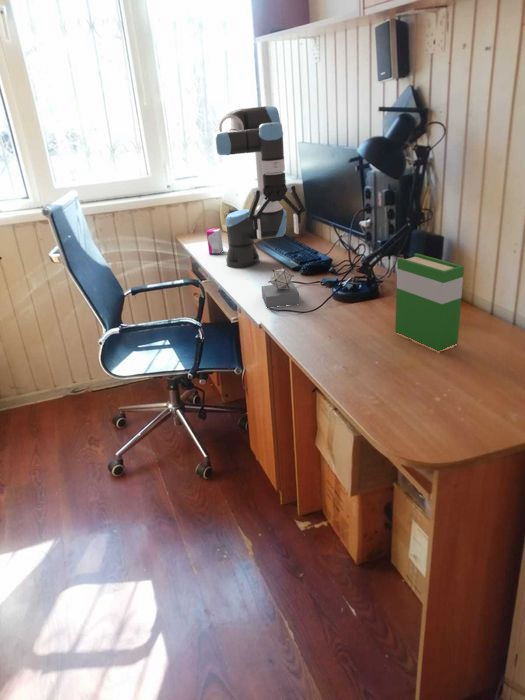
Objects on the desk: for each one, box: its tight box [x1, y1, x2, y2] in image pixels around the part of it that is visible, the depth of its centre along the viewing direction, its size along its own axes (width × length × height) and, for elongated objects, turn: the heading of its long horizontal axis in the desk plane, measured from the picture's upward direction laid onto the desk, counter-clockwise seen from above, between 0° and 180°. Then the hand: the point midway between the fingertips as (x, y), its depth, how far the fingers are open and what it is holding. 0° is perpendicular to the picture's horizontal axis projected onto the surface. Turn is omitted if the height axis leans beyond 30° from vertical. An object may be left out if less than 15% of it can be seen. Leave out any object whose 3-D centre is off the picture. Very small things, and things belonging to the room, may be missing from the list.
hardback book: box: [394, 253, 465, 351], centre depth 157 cm, size 18×7×24 cm, turn 30°
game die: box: [267, 266, 295, 291], centre depth 198 cm, size 9×8×10 cm
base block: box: [261, 282, 301, 309], centre depth 200 cm, size 12×12×5 cm
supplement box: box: [206, 228, 224, 255], centre depth 266 cm, size 6×6×12 cm
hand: (278, 235), depth 191 cm, fingers open, 13 cm apart
